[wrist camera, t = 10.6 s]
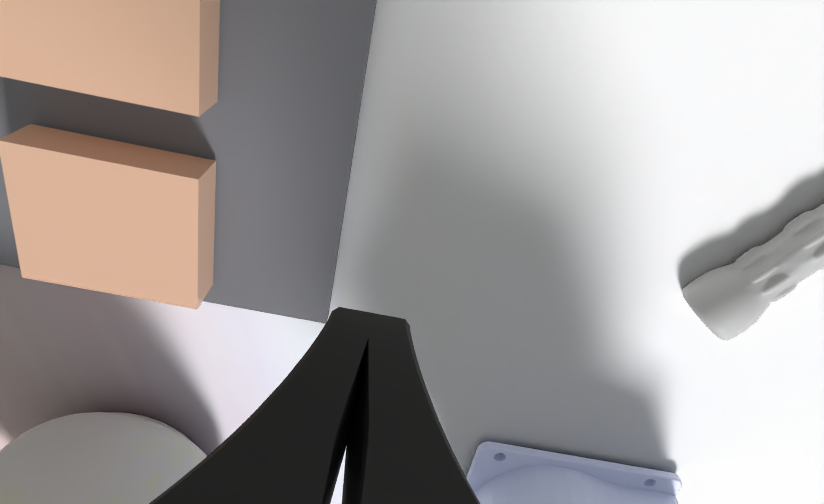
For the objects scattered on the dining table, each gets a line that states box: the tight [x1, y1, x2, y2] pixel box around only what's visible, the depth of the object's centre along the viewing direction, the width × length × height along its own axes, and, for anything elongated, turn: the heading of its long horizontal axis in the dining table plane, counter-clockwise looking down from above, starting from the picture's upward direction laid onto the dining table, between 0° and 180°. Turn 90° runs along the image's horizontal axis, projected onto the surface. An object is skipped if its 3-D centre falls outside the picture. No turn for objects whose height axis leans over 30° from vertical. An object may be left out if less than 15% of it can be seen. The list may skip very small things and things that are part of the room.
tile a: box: [0, 124, 216, 309], centre depth 19 cm, size 2×5×6 cm
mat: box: [0, 0, 377, 323], centre depth 18 cm, size 14×14×1 cm
